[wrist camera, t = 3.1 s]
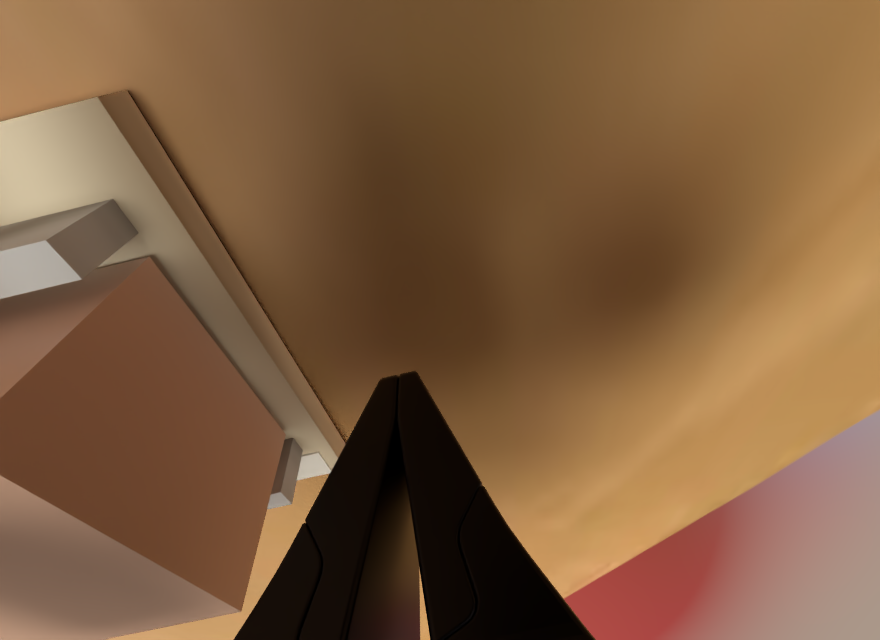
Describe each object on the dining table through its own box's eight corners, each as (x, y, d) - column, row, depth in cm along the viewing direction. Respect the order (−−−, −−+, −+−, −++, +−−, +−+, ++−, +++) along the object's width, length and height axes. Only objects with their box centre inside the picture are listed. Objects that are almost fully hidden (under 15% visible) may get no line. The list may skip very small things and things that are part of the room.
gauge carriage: (149, 256, 9) (-51, 446, 5) (315, 472, 14) (287, 638, 11) (-95, 314, 9) (-480, 544, 5) (165, 504, 15) (84, 678, 11)
